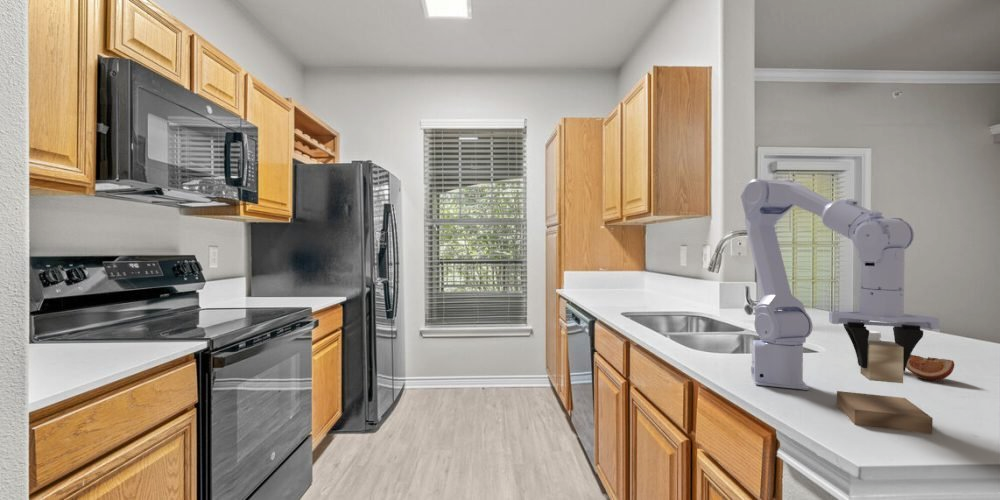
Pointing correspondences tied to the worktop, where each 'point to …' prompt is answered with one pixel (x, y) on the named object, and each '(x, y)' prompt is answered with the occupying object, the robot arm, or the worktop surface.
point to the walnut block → (884, 412)
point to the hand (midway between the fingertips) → (881, 368)
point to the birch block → (884, 362)
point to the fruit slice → (930, 367)
